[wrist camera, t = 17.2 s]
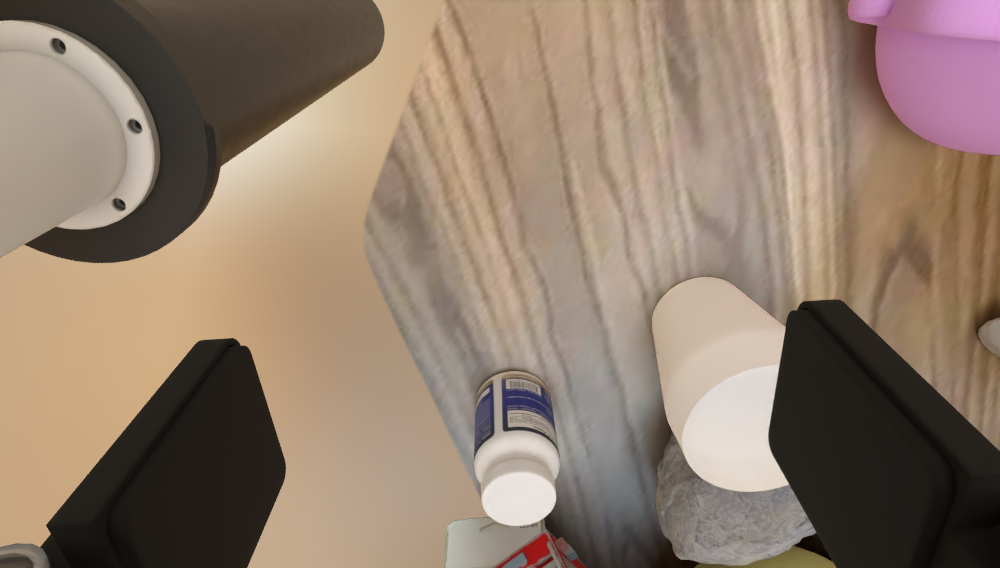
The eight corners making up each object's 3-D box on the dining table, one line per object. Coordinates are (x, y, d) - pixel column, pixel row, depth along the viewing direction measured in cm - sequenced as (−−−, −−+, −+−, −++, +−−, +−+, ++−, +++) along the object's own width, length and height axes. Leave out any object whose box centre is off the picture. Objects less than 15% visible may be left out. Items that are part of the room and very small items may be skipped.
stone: (699, 608, 34) (627, 437, 38) (672, 566, 49) (622, 446, 53) (949, 516, 33) (853, 350, 37) (844, 502, 48) (783, 385, 52)
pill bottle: (499, 437, 48) (500, 544, 39) (461, 387, 45) (454, 488, 37) (564, 409, 46) (580, 512, 38) (528, 355, 44) (537, 453, 35)
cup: (613, 295, 42) (652, 405, 31) (739, 237, 40) (826, 334, 29) (662, 387, 45) (711, 514, 35) (779, 339, 44) (870, 458, 33)
